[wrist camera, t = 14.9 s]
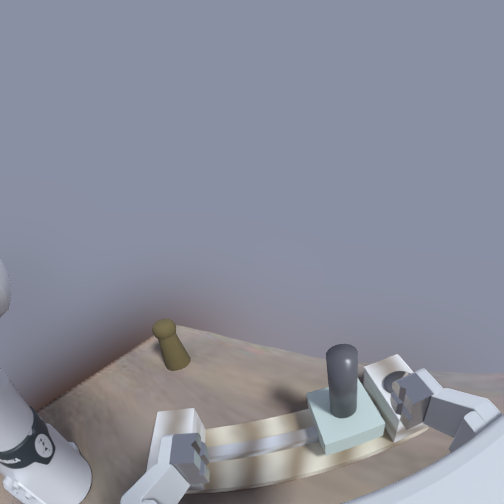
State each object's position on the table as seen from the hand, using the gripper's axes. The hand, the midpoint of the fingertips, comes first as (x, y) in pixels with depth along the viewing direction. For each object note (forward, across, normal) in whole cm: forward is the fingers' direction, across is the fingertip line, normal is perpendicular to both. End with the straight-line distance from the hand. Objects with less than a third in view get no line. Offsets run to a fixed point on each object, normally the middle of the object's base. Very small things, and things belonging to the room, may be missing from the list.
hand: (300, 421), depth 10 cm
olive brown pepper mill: (+45, +21, +28) cm, 57 cm away
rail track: (+17, 0, +28) cm, 33 cm away
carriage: (+17, -7, +26) cm, 32 cm away
